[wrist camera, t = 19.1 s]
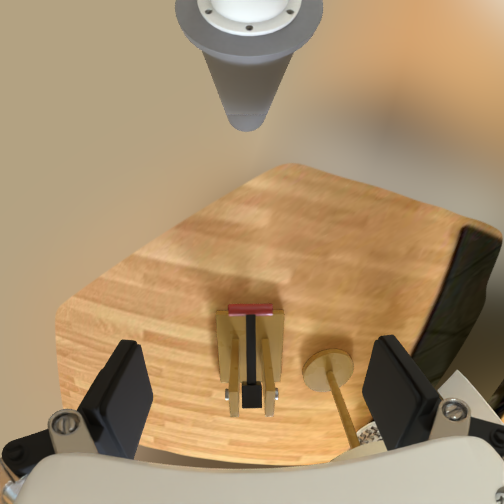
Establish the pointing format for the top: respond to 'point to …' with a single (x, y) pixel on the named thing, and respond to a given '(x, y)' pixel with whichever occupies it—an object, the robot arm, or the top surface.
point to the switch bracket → (234, 355)
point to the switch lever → (251, 350)
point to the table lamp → (338, 395)
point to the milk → (468, 397)
